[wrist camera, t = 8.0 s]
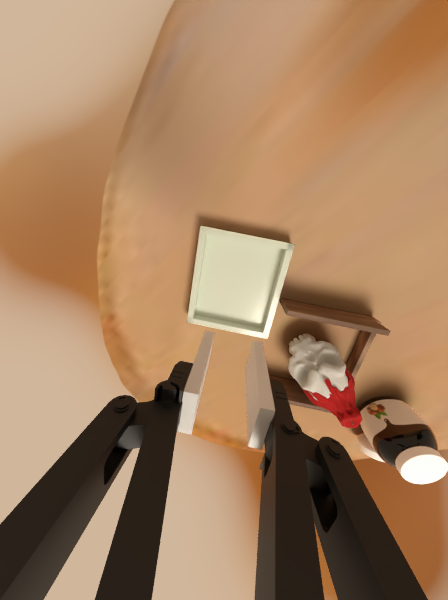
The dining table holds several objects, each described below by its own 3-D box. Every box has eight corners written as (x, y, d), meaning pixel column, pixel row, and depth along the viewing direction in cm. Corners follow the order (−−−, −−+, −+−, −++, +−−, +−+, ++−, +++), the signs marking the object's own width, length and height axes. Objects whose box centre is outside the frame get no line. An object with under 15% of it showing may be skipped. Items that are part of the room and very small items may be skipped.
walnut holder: (281, 298, 38) (288, 310, 33) (372, 316, 38) (395, 332, 32) (258, 376, 44) (260, 398, 38) (337, 392, 44) (351, 417, 38)
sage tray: (203, 225, 35) (200, 225, 33) (291, 243, 35) (294, 244, 33) (190, 316, 41) (186, 322, 38) (265, 332, 41) (267, 339, 38)
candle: (318, 322, 36) (391, 412, 27) (324, 341, 45) (381, 415, 35) (273, 348, 38) (327, 442, 28) (288, 362, 46) (332, 438, 37)
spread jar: (400, 389, 42) (456, 445, 31) (411, 429, 45) (466, 493, 34) (340, 405, 45) (372, 463, 34) (354, 442, 48) (388, 506, 37)
